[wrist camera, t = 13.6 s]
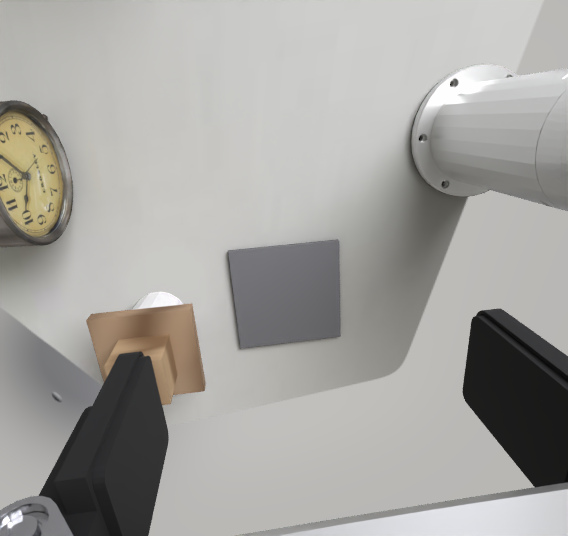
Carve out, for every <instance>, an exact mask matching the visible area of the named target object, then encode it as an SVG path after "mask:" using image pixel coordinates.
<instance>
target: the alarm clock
mask: <svg viewBox="0 0 568 536" xmlns="http://www.w3.org/2000/svg"><path fill="white" fill-rule="evenodd" d="M47 120H48V118H47V116H46V115H44V114H41V113H40V112H39V111H37V110H36V109H35V108H33V107H32V106H30V105H28V104H26V103H24V102H21V101H5V102H0V247H14V246H34V245H48V244H51V243H53V242H54V241H56V240H57V239H58V238H59V237H60V236H61V235H62V233H63V232H64V231H65V229H66V227H67V225H68V222H69V219H70V215H71V211H72V203H73V186H72V177H71V172H70V167H69V163H68V160H67V157H66V154H65V151H64V148H63V146H62V144H61V142H60V140H59V137H58V136H57V134H56V132H55V131H54V129H53V128H52V126H51V125H50V123H49V122H48V121H47Z"/></svg>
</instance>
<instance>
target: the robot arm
mask: <svg viewBox="0 0 568 536" xmlns="http://www.w3.org/2000/svg"><path fill="white" fill-rule="evenodd" d="M450 82H451V86H450ZM419 136H421V139H420V140H419ZM411 144H412V154H413V158H414V162H415V165H416V167H417V169H418V171H419V173H420V175H421V176H422V177H423V178H424V180H425V181H426V182H427V183H428V184H429V185H431V186H432V187H433V188H435V189H437V190H439V191H441V192H443V193H446V194H449V195H452V196H460V197H466V196H475V195H478V194H482V193H485V192H487V191H489V190H493V191H496V192H500V193H504V194H507V195H510V196H514V197H518V198H521V199H525V200H529V201H532V202H536V203H539V204H543V205H546V206H550V207H554V208H558V209H561V210H565V211H568V68H565V69H559V70H553V71H546V72H540V73H534V74H528V75H522V76H518V75H517V74H516V73H514V72H512V71H511V70H509V69H507V68H506V67H502V66H499V65H496V64H478V65H472V66H468V67H465V68H462V69H459V70H457V71H455V72H453V73H451V74H449V75H448V76H447V77H445V78H444V79H443V80H441V81H440V82H439V83H438V84H437V85H436V86H435V87H434V88H433V89H432V90H431V91H430V92H429V94H428V95H427V97H426V98H425V100H424V101H423V103H422V104H421V106H420V109H419V111H418V113H417V115H416V118H415V122H414V126H413V129H412V140H411ZM442 182H443V184H442ZM441 184H442V185H441ZM463 396H464V399H465V401H466V403H467V404H468V405H469V406H470V408H471V409H472V410H473V411H474V413H475V414H476V415H477V416H478V418H479V419H480V420H481V421H482V422H483V424H484V425H485V426H486V427H487V429H488V430H489V431H490V432H491V434H492V435H493V436H494V437H495V439H496V440H497V441H498V442H499V444H500V445H501V446H502V447H503V448H504V450H505V451H506V452H507V453H508V455H509V456H510V457H511V458H512V460H513V461H514V462H515V463H516V465H517V466H518V467H519V468H520V469H521V471H522V472H523V473H524V474H525V476H526V477H527V478H528V479H529V480H530V482H531V483H532V484H533V486H535V488H529V489H522V490H516V491H509V492H502V493H496V494H489V495H483V496H476V497H470V498H463V499H457V500H451V501H445V502H438V503H432V504H425V505H419V506H413V507H407V508H401V509H395V510H388V511H383V512H376V513H370V514H364V515H357V516H351V517H345V518H338V519H333V520H326V521H320V522H315V523H308V524H303V525H296V526H290V527H284V528H278V529H272V530H266V531H260V532H255V533H248V534H242V535H236V536H568V356H566V355H565V354H564V353H562V352H561V351H559V350H558V349H557V348H555V347H554V346H553V345H551V344H550V343H548V342H547V341H545V340H544V339H543V338H541V337H540V336H539V335H537V334H536V333H534V332H533V331H532V330H530V329H529V328H527V327H526V326H525V325H523V324H522V323H520V322H519V321H518V320H516V319H515V318H513V317H512V316H511V315H509V314H508V313H506V312H505V311H504V310H502V309H492V310H484V311H480V312H478V313H477V315H476V316H475V317H473V319H472V322H471V330H470V337H469V345H468V353H467V360H466V369H465V376H464V384H463ZM167 446H168V429H167V425H166V420H165V416H164V412H163V407H162V403H161V399H160V395H159V390H158V386H157V382H156V378H155V373H154V369H153V365H152V361H151V358H150V356H144V354H143V353H142V352H141V351H139V352H131V353H122V354H119V355H118V357H117V359H116V361H115V363H114V365H113V367H112V369H111V371H110V372H109V374H108V376H107V378H106V380H105V382H104V384H103V386H102V389H101V390H100V392H99V394H98V396H97V398H96V400H95V402H94V404H93V406H91V407H88V408H86V409H85V410H84V412H83V413H82V415H81V417H80V419H79V421H78V422H77V424H76V427H75V428H74V430H73V432H72V434H71V436H70V438H69V440H68V442H67V443H66V445H65V447H64V449H63V451H62V453H61V455H60V457H59V459H58V460H57V462H56V464H55V466H54V468H53V470H52V472H51V473H50V475H49V477H48V479H47V481H46V483H45V485H44V487H43V489H42V490H41V492H40V494H39V496H34V497H28V498H25V499H22V500H19V501H16V502H14V503H13V504H10V505H9V506H7V507H5V508H3V509H2V510H0V536H148V534H149V530H150V525H151V520H152V515H153V511H154V506H155V502H156V497H157V492H158V488H159V483H160V479H161V474H162V469H163V464H164V460H165V455H166V450H167Z"/></svg>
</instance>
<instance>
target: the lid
mask: <svg viewBox="0 0 568 536" xmlns="http://www.w3.org/2000/svg"><path fill="white" fill-rule="evenodd" d="M86 321H87V325H88V328H89V332H90V335H91V339H92V342H93V346H94V349H95V352H96V356H97V359H98V363H99V366H100V370H101V373H102V377H103V380H104V382H105V380H106V378H107V376H108V374H109V372H110V371H111V369H112V367H113V365H114V363H115V361H116V359H117V357H118V355H119V354H122V353H131V352H139V351H141V352H142V353H143V354H144V356H150V358H151V361H152V365H153V369H154V373H155V378H156V382H157V386H158V390H159V395H160V399H161V403H162V405H166V404H171V400H172V396H173V395H177V394H185V393H193V392H201V391H205V377H204V371H203V365H202V359H201V353H200V347H199V341H198V336H197V330H196V324H195V318H194V312H193V306H192V304H182V305H173V306H163V307H154V308H144V309H135V310H125V311H116V312H106V313H97V314H91V315H90V316H89V318H88V319H87V320H86Z"/></svg>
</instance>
